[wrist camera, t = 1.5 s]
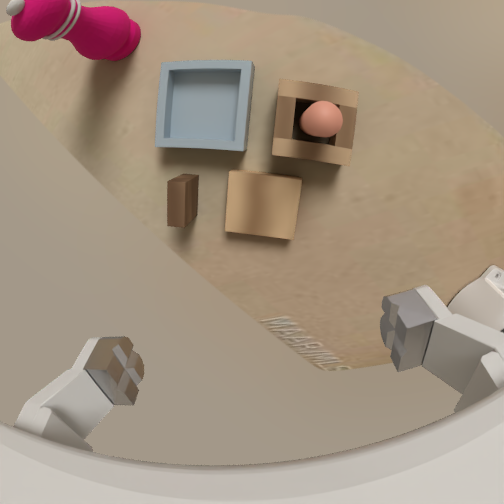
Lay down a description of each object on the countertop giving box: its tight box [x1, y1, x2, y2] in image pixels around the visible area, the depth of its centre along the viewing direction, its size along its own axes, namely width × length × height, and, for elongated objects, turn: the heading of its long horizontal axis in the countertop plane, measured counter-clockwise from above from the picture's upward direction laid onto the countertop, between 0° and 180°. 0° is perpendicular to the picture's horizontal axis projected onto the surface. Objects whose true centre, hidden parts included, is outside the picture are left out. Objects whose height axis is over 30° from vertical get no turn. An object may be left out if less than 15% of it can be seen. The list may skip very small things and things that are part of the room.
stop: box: [167, 174, 199, 228], centre depth 32 cm, size 2×5×5 cm, turn 175°
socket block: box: [272, 79, 359, 166], centre depth 28 cm, size 8×8×4 cm
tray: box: [155, 60, 255, 151], centre depth 28 cm, size 10×10×3 cm
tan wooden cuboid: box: [225, 169, 302, 240], centre depth 33 cm, size 8×7×2 cm
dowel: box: [299, 101, 343, 137], centre depth 25 cm, size 3×3×10 cm
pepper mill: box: [6, 0, 141, 61], centre depth 17 cm, size 7×7×20 cm
